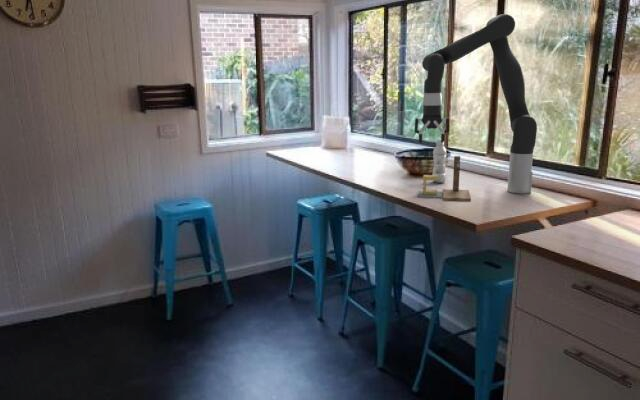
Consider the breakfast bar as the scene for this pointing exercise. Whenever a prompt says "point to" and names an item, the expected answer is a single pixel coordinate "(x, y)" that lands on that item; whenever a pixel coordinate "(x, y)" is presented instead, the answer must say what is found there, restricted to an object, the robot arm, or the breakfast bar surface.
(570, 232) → the breakfast bar surface
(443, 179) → the plastic bottle
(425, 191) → the c link
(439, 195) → the mat
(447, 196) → the stand
